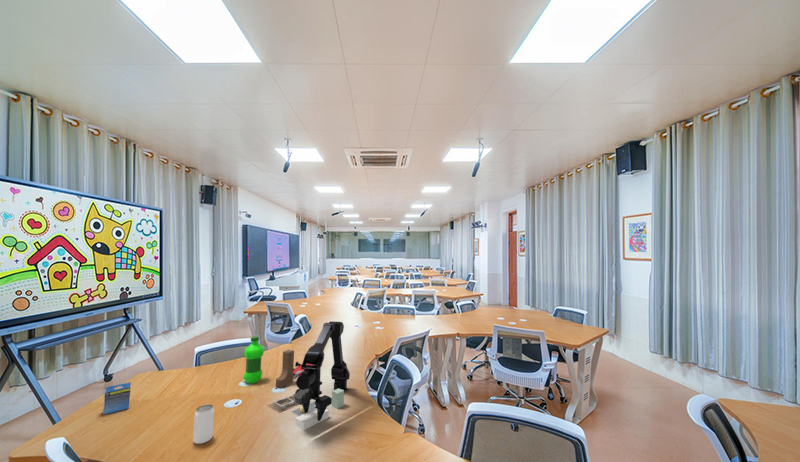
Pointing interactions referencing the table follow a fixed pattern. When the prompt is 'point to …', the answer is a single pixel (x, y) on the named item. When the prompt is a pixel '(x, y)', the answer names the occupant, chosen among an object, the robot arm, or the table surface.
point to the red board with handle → (298, 369)
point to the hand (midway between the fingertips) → (312, 417)
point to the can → (203, 424)
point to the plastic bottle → (253, 361)
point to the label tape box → (116, 398)
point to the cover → (309, 419)
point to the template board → (301, 411)
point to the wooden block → (286, 369)
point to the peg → (337, 398)
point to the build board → (284, 404)
